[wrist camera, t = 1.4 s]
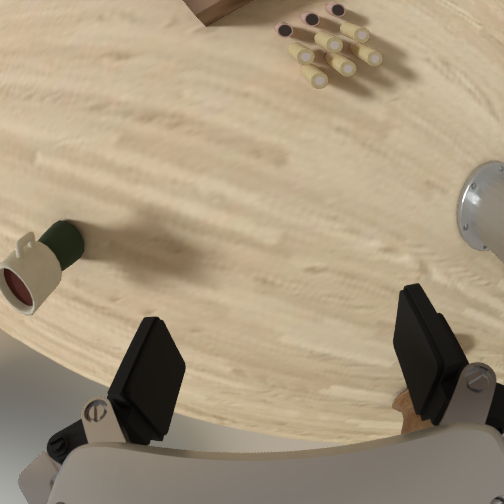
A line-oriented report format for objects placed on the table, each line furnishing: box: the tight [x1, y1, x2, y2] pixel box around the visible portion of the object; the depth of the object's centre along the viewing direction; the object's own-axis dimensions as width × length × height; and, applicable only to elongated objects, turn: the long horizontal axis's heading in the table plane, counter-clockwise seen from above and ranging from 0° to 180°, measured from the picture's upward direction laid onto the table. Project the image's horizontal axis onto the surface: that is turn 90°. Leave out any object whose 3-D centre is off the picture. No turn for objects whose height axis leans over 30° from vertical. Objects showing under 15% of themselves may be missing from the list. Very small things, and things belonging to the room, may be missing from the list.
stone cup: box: [392, 389, 434, 434], centre depth 43 cm, size 15×12×15 cm
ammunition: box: [275, 3, 383, 89], centre depth 21 cm, size 5×7×8 cm
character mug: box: [0, 220, 84, 315], centre depth 31 cm, size 11×7×13 cm, turn 163°
